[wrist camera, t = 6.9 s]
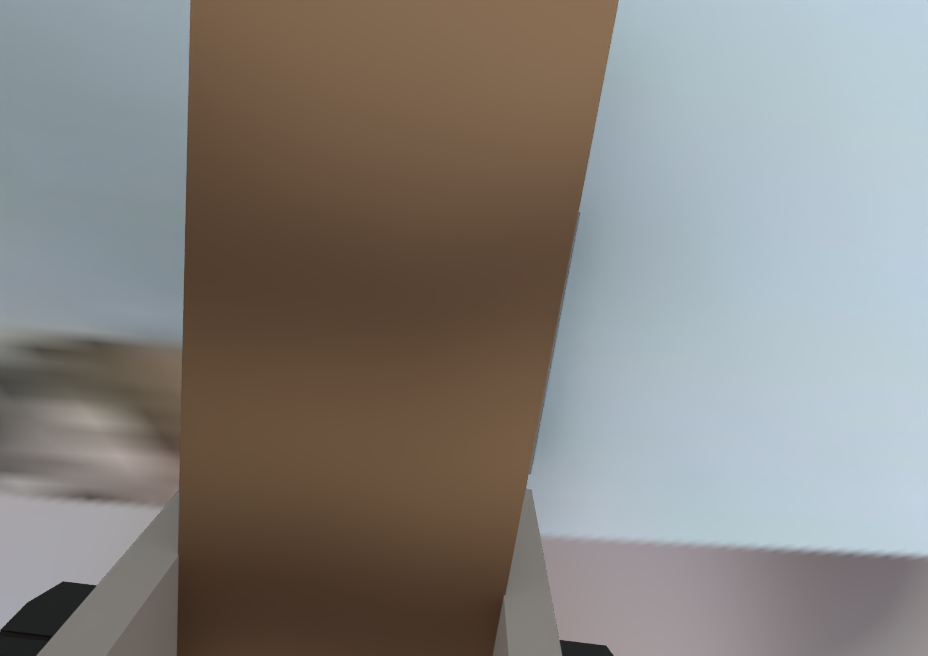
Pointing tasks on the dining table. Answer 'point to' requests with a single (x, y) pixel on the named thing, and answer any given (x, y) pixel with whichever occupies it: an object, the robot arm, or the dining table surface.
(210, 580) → the bar
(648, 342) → the dining table surface
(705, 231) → the dining table surface
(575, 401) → the dining table surface
